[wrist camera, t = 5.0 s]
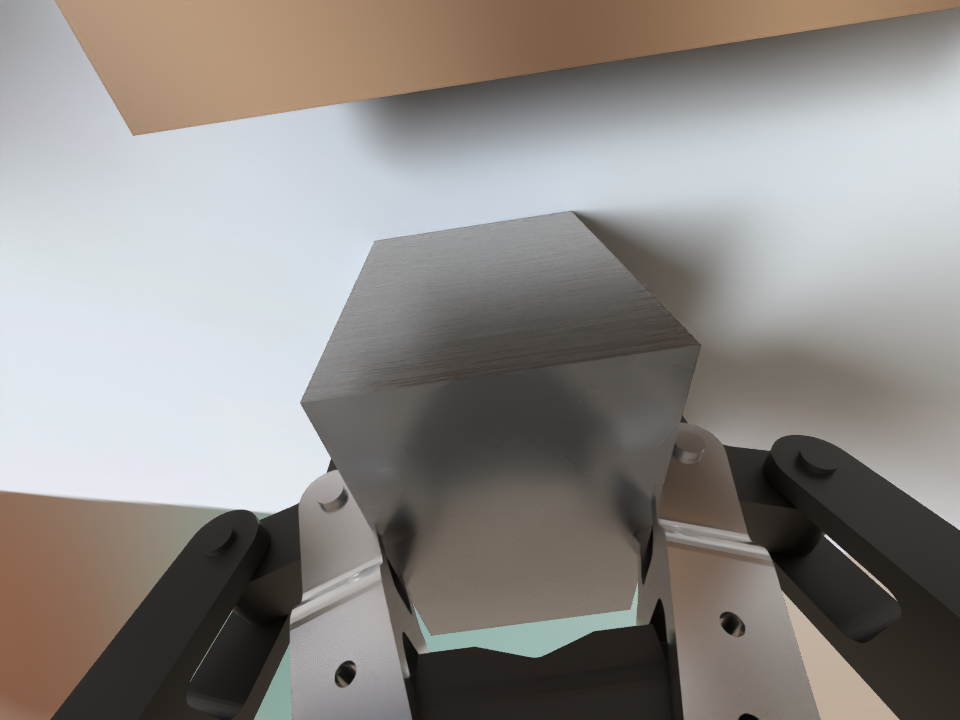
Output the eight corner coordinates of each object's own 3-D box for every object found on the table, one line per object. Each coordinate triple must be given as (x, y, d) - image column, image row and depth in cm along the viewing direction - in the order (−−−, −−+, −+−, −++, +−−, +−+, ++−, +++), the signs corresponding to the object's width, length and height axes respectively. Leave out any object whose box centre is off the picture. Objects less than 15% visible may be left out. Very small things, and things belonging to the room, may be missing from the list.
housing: (571, 211, 9) (701, 345, 5) (568, 430, 14) (630, 609, 9) (374, 241, 10) (299, 402, 5) (436, 448, 14) (430, 635, 9)
